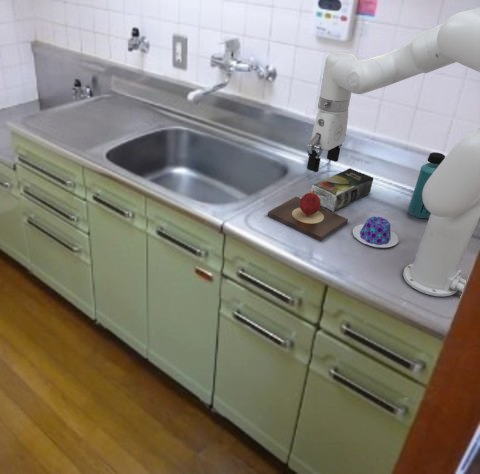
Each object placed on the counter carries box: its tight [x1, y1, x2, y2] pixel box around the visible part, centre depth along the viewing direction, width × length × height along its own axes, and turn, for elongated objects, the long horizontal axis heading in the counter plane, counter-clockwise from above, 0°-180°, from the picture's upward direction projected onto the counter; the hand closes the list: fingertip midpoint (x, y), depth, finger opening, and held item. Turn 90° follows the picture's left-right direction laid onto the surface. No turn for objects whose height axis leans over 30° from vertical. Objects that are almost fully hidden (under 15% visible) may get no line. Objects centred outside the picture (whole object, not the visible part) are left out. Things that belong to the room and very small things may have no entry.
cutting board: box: [267, 196, 349, 242], centre depth 153 cm, size 18×14×2 cm
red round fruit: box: [300, 190, 322, 215], centre depth 151 cm, size 6×6×8 cm
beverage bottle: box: [407, 151, 446, 219], centre depth 151 cm, size 6×7×20 cm
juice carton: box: [310, 167, 374, 213], centre depth 164 cm, size 20×10×6 cm, turn 128°
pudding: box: [352, 216, 399, 249], centre depth 145 cm, size 12×12×5 cm
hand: (322, 165), depth 144 cm, fingers open, 9 cm apart
